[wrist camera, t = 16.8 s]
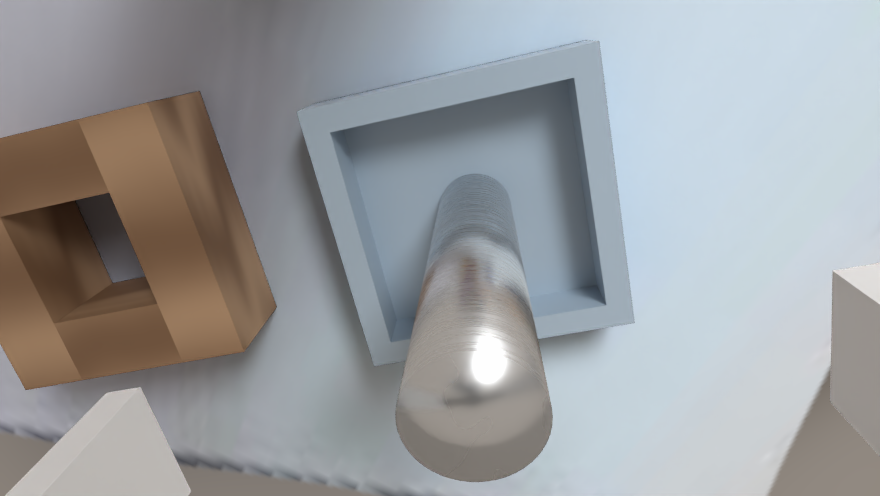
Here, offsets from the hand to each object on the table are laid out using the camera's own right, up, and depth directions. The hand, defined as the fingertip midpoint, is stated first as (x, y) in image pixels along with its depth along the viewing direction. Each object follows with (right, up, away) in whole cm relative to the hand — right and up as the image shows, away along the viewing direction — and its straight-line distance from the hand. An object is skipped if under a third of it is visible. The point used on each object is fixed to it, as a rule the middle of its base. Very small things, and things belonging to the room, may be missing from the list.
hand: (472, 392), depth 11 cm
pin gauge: (+1, +4, +13) cm, 14 cm away
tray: (+1, +5, +14) cm, 14 cm away
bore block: (-14, +4, +15) cm, 21 cm away
